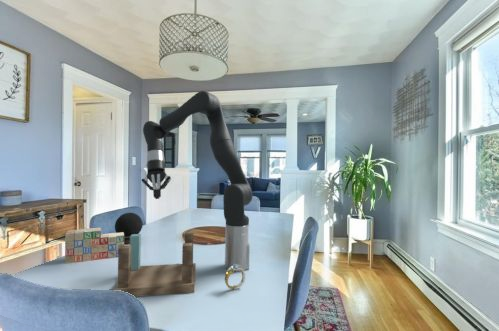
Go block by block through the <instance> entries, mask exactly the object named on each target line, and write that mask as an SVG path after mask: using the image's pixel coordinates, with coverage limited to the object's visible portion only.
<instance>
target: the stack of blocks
mask: <svg viewBox="0 0 499 331" xmlns="http://www.w3.org/2000/svg"><path fill="white" fill-rule="evenodd" d="M64 238H65V240H64V251H65V252H64V264H65V265H66V264H77V263H83V262H88V261H89V262H90V261H91V262H92V261H97V260H98V261H99V260H104V259H112V258H118V248H119V247H120V246H123V245H124V232H120V233H116V232H111V233H110V232H109V233H102V228H101V227H93V228H91V227H90V228H82V229H74V230H73V229H70V230H67V231H66V233H65V237H64Z"/></svg>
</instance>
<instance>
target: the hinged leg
mask: <svg viewBox="0 0 499 331" xmlns="http://www.w3.org/2000/svg"><path fill="white" fill-rule="evenodd" d="M141 237H142V234H141V233H139V234H132V235H131V236H130V244H129V245H131V270H138V269H139V268H140V266H141V246H142V245H141V244H142V241H141V240H142V238H141Z"/></svg>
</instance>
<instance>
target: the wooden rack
mask: <svg viewBox="0 0 499 331" xmlns="http://www.w3.org/2000/svg"><path fill="white" fill-rule="evenodd" d="M181 250H182V252H181V253H182V254H181V255H182V256H181V257H182V258H181V259H182V260H181V263H175V264H170V263H169V264H154V265H153V264H152V265H150V264H149V265H140V268H139V269H138V270H131V245H130V244H129V245H123V246H120V247H119V248H118V257H117V284H116V285H115V286H114V288H113V289H112V291H113V290H121V291H124V292H128V293H130V294H132V295H134V296H135V297H145V296H146V297H147V296H159V295H171V294H173V295H174V294H188V293H195V288H196V287H195V286H196V271H197V270H196V269H197V268H196V265H197V264H196V263H195V262H194V232H185V234H184V242H183V243H182V249H181Z"/></svg>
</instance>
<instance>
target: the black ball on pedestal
mask: <svg viewBox="0 0 499 331" xmlns="http://www.w3.org/2000/svg"><path fill="white" fill-rule="evenodd" d="M142 229H143V220H142V217H140V215H139V214H137V213H135V212H125V213H123V214H121V215H120V216H119V217H118V218H117V219H116V220H115V223H114V230H115V233H120V232H124V245H130V236H131V235H132V234H141V233H140V232H141V231H142Z"/></svg>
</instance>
